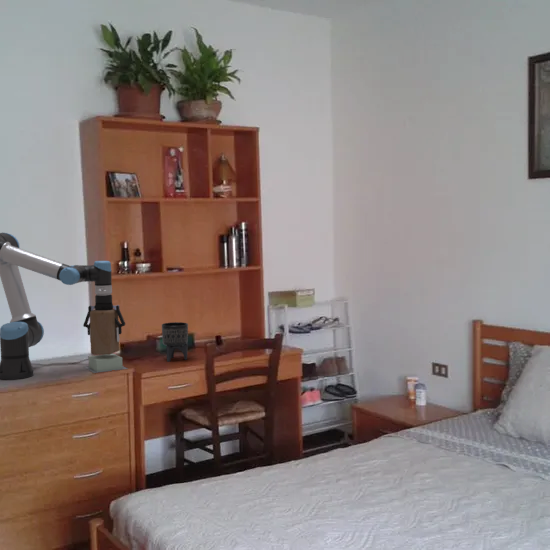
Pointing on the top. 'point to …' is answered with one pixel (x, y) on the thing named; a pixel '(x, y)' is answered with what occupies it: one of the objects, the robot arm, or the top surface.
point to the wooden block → (103, 331)
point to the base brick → (105, 362)
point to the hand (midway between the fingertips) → (104, 341)
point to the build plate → (102, 371)
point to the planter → (175, 338)
